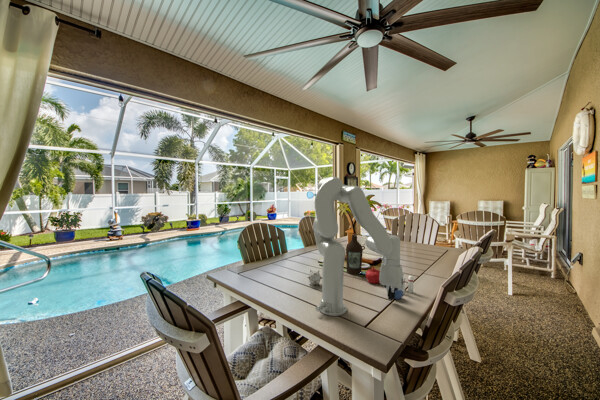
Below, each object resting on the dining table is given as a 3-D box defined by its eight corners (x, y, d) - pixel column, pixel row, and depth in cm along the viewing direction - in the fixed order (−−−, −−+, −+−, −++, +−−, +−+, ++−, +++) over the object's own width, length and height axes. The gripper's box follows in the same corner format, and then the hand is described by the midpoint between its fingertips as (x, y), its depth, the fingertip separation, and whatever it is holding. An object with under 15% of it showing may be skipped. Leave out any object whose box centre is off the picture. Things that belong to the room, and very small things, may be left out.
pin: (412, 293, 124) (412, 277, 124) (407, 292, 126) (407, 276, 125) (413, 292, 126) (414, 276, 125) (408, 290, 128) (409, 275, 127)
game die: (316, 292, 134) (316, 282, 128) (304, 284, 138) (304, 274, 132) (324, 280, 139) (325, 271, 133) (313, 273, 143) (313, 263, 137)
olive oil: (345, 269, 162) (346, 232, 161) (361, 270, 160) (362, 233, 158) (345, 274, 151) (346, 235, 150) (362, 275, 149) (363, 236, 148)
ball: (404, 286, 117) (405, 295, 119) (392, 282, 122) (394, 291, 124) (399, 293, 114) (400, 303, 115) (387, 289, 118) (388, 299, 120)
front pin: (403, 294, 123) (404, 278, 122) (398, 293, 124) (399, 277, 124) (405, 293, 124) (406, 277, 124) (400, 291, 126) (401, 276, 126)
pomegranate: (384, 286, 134) (384, 270, 134) (365, 284, 136) (366, 268, 136) (381, 279, 144) (382, 264, 143) (364, 277, 146) (365, 263, 145)
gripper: (373, 259, 116) (373, 296, 117) (404, 266, 105) (403, 307, 106) (380, 256, 121) (380, 291, 122) (410, 263, 110) (410, 301, 111)
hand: (391, 298), depth 114 cm, fingers closed
